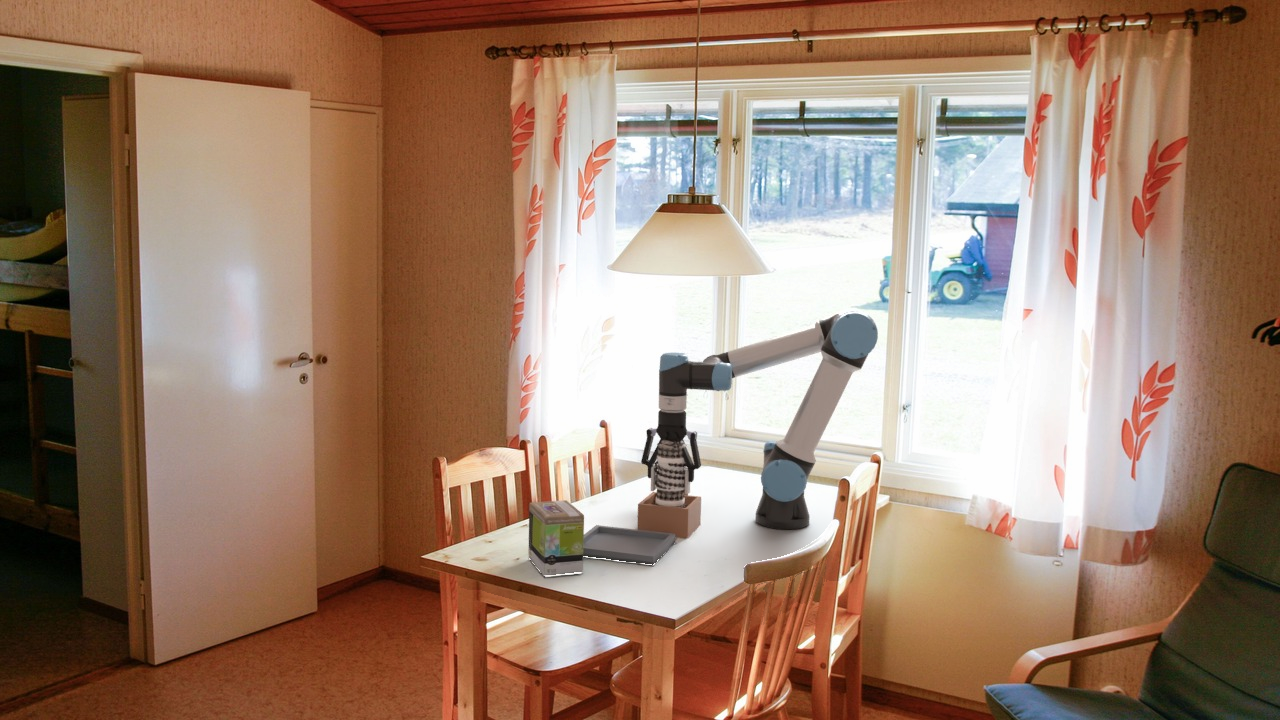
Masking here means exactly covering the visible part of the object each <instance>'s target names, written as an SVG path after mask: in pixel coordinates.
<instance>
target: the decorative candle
mask: <svg viewBox="0 0 1280 720" xmlns="http://www.w3.org/2000/svg"><path fill="white" fill-rule="evenodd" d="M680 442H681V444H682V446H681V445H680V443H679V442H678V441H669V440H662V441H661V443H660V444H659V445H658V443H657V444H656V446H657V445H658V455H657V459H656V461H655V463H654V466H655V467H656V468H655V470H654V471H655V472H656V474H657V475H655V480H656V481H655V483H654V484H655V487H656V492H657V496H656V503H655V504H654V505H661V506H671V507H681V508H685V506H686V505H685V504H684V502H685V498H684V489H685V483H684V481H685V475H684V474H685V471H686V470H684V468H685V467H687V465H686V463H685V461H684V458H683V456H682V453H683V451H682V449H683V448H684V449H685V447H686V448H687V444H686V443H685V444H684V442H685V441H684V442H683V441H680Z"/></svg>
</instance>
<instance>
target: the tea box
mask: <svg viewBox="0 0 1280 720" xmlns="http://www.w3.org/2000/svg"><path fill="white" fill-rule="evenodd" d="M528 506H529V507H528V508H529V509H528V518H529V519H528V559H529V558H530V559H531V561H532V562H533V563H534V564H535V566H536V567H537V568H538V569H539V570H540V572H541V573H542V574H543V575H556V574H565V573H574V572H583V570H584V558H583V541H584V534H585V533H584V532H585V515H584V514H583V513H582V511H580V510H578V508H576V507H575V506H574V505H573V504H572V503H570V502H569V501H568V500H563V499H562V500H552V501H550V500H549V501H536V502H535V501H534V502H529V505H528ZM531 561H530V562H531ZM532 562H531V563H532ZM535 566H534V567H535ZM536 567H535V568H536ZM537 568H536V569H537ZM540 572H539V573H540ZM541 573H540V574H541ZM542 574H541V575H542Z"/></svg>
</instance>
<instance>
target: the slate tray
mask: <svg viewBox="0 0 1280 720" xmlns="http://www.w3.org/2000/svg"><path fill="white" fill-rule="evenodd" d="M674 543H675V544H676V537H675V534H672V533H663V532H654V531H645V530H637V529H633V528H626V527H618V526H609V525H599V524H596V525H595V526H593V527H592V528H591V529H589V530H588V531H587V532H585V533H584V541H583V556H588V557H596V558H606V559H611V560H619V561H626V562H636V563H645V564H652V565H653V564H654V563H656V562H657V560H658V559H660V558H661V556H662V557H664V555H665V554H666V553H668V552H669V550H671V548H672V547H674V545H675V544H674ZM665 552H666V553H665ZM664 553H665V554H664ZM663 554H664V555H663ZM660 560H661V559H660ZM657 563H658V562H657Z"/></svg>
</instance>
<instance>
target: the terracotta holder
mask: <svg viewBox="0 0 1280 720" xmlns="http://www.w3.org/2000/svg"><path fill="white" fill-rule="evenodd" d="M656 496H657V491H656V492H655V491H651V493H650V494H649V495H647V496H646V497H645V498H643V499H642V500H641V501H640V502H639V503H638V504H637V527H636V528H637V529H636V530H645V531H654V532H663V533H672V534H675V538H677V539H678V538H679V539H686V538H688V539H689V538H690V537H691V536H692V535H693V534H694V532H695V531H696V530H697V529H698V528H699V527H700V526H701V520H702V519H701V517H702V513H701V512H702V496H698V495H689V494H688V495H684V498H685V502H684V504H685V505H686V506H685V508H681V507H671V506H661V505H654V504H655V503H656Z"/></svg>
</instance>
